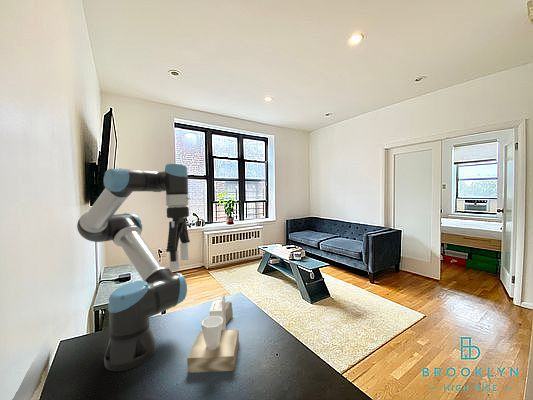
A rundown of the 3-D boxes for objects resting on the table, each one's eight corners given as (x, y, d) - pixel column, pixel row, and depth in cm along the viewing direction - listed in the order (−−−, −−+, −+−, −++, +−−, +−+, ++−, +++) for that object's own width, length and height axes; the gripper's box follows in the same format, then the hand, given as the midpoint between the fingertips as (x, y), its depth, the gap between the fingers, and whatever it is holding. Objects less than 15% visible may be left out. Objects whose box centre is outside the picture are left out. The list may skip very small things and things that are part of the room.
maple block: (187, 374, 70) (187, 358, 70) (200, 344, 84) (199, 331, 84) (234, 372, 70) (233, 356, 70) (238, 343, 84) (238, 329, 84)
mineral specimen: (220, 313, 105) (219, 299, 105) (234, 314, 103) (234, 301, 103) (206, 328, 93) (205, 313, 93) (222, 330, 91) (221, 314, 91)
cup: (197, 350, 73) (196, 325, 72) (212, 332, 82) (212, 309, 82) (217, 354, 71) (217, 328, 71) (231, 335, 80) (230, 312, 80)
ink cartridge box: (213, 328, 92) (212, 292, 92) (226, 327, 93) (225, 291, 92) (210, 342, 84) (208, 303, 83) (224, 341, 84) (222, 302, 84)
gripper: (179, 207, 72) (181, 275, 72) (195, 205, 97) (197, 255, 97) (154, 208, 71) (156, 277, 71) (176, 205, 96) (178, 256, 96)
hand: (179, 264), depth 84 cm, fingers open, 13 cm apart
